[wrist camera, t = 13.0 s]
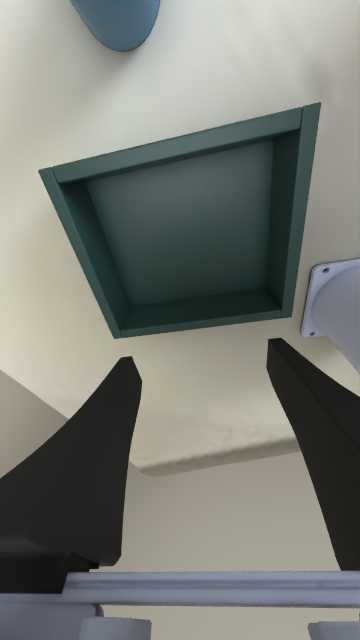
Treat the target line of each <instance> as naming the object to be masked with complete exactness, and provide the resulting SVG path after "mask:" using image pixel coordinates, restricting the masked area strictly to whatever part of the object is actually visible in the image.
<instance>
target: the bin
mask: <svg viewBox="0 0 360 640" xmlns="http://www.w3.org/2000/svg"><path fill="white" fill-rule="evenodd" d="M320 107H321V102H319V103H315V104H311V105H306V106H303V107H299V108H295V109H290V110H286V111H282V112H278V113H274V114H270V115H265V116H261V117H257V118H253V119H249V120H245V121H240V122H236V123H232V124H228V125H224V126H220V127H215V128H211V129H207V130H203V131H199V132H195V133H190V134H186V135H182V136H178V137H174V138H170V139H165V140H161V141H157V142H153V143H149V144H145V145H140V146H136V147H132V148H128V149H124V150H120V151H115V152H111V153H107V154H103V155H99V156H95V157H90V158H86V159H82V160H78V161H74V162H70V163H65V164H61V165H57V166H53V167H49V168H44V169H40V170H38V172H39V174H40V176H41V179H42V181H43V183H44V185H45V187H46V190H47V192H48V194H49V196H50V198H51V201H52V203H53V205H54V207H55V209H56V212H57V214H58V216H59V218H60V220H61V223H62V225H63V227H64V229H65V232H66V234H67V236H68V238H69V240H70V243H71V245H72V247H73V249H74V251H75V254H76V256H77V258H78V260H79V262H80V265H81V267H82V269H83V271H84V273H85V276H86V278H87V280H88V282H89V285H90V287H91V289H92V291H93V293H94V296H95V298H96V300H97V302H98V304H99V307H100V309H101V311H102V313H103V315H104V318H105V320H106V322H107V324H108V326H109V329H110V331H111V333H112V335H113V337H114V339H118V338H127V337H135V336H143V335H151V334H159V333H167V332H175V331H183V330H191V329H199V328H207V327H215V326H223V325H231V324H239V323H247V322H255V321H264V320H272V319H280V318H288V317H292V310H293V303H294V295H295V288H296V281H297V274H298V266H299V259H300V252H301V245H302V238H303V230H304V223H305V216H306V209H307V201H308V194H309V187H310V180H311V172H312V165H313V158H314V151H315V143H316V136H317V129H318V122H319V115H320Z"/></svg>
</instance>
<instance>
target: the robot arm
mask: <svg viewBox="0 0 360 640" xmlns="http://www.w3.org/2000/svg"><path fill="white" fill-rule="evenodd" d="M325 268H327V269H326V271H324V272H323V270H324V269H325ZM311 332H312V333H311ZM301 335H302V336H303V337H304V338H308V337H317V336H326V335H327V337H328V338H329V339H330V340H331V341H332V342H333V344H334V345H335V346H336V347H337V348H338V349H339V351H340V352H341V353H342V354H343V355H344V356H345V357H346V359H347V360H348V361H349V362H350V363H351V364H352V366H353V367H354V368H355V369H356V370H357V371H358V372H359V374H360V259H354V260H347V261H340V262H334V263H327V264H321V265H317V266H315V267H314V268H313V269H312V273H311V278H310V284H309V290H308V295H307V301H306V307H305V312H304V318H303V324H302V329H301ZM266 368H267V371H268V374H269V377H270V380H271V383H272V386H273V388H274V390H275V392H276V394H277V397H278V399H279V401H280V403H281V405H282V407H283V409H284V411H285V413H286V416H287V418H288V420H289V422H290V424H291V426H292V428H293V431H294V433H295V435H296V438H297V440H298V443H299V446H300V449H301V451H302V454H303V456H304V460H305V463H306V465H307V468H308V471H309V474H310V477H311V480H312V483H313V486H314V489H315V492H316V495H317V498H318V501H319V504H320V507H321V510H322V513H323V517H324V520H325V523H326V526H327V530H328V533H329V536H330V539H331V543H332V546H333V549H334V553H335V557H336V559H337V562H338V564H339V567H340V569H341V571H248V572H247V571H241V572H240V571H238V572H237V571H236V572H89V570H90V569H99V566H113V565H115V564H116V562H117V561H118V560H119V558H120V557H121V545H122V527H123V512H124V500H125V487H126V479H127V469H128V461H129V453H130V446H131V441H132V436H133V432H134V427H135V422H136V418H137V413H138V409H139V404H140V399H141V389H142V380H141V377H140V375H139V372H138V370H137V368H136V365H135V363H134V361H133V358H132V356H129V357H121V358H120V359H119V361H118V362H117V363H116V365H115V366H114V367H113V369H112V370H111V371H110V372H109V374H108V375H107V376H106V378H105V379H104V380H103V382H102V383H101V384H100V385H99V387H98V388H97V389H96V390H95V392H94V393H93V394H92V395H91V396H90V397H89V399H88V400H87V401H86V402H85V403H84V404H83V406H82V407H81V408H80V409H79V410H78V411H77V412H76V413H75V414H74V415H73V416H72V417H71V418H70V419H69V420H68V421H67V422H66V424H65V425H64V426H62V427H61V428H60V429H59V430H58V431H57V432H56V433H55V434H54V435H53V436H52V437H50V439H48V440H47V441H46V442H45V443H44V444H43V445H42V446H41V447H39V448H38V449H37V450H36V451H35V452H33V453H32V454H31V455H30V456H29V457H27V458H26V459H25V460H24V461H22V462H21V463H20V464H19V465H17V466H16V467H15V468H14V469H12V470H11V471H10V472H9V473H7V474H6V475H4V476H3V477H2V478H0V640H150V636H151V624H152V623H151V621H150V620H143V619H132V618H116V617H104V614H103V609H102V607H101V606H100V605H135V606H139V605H140V606H214V607H223V606H224V607H295V608H296V607H297V608H360V397H359V396H357V395H356V394H354V393H353V392H351V391H349V390H348V389H346V388H345V387H343V386H342V385H340V384H339V383H337V382H336V381H335V380H333V379H332V378H330V377H329V376H328V375H326V374H325V373H324V372H322V371H321V370H320V369H318V368H317V367H316V366H315V365H313V364H312V363H311V362H310V361H308V360H307V359H306V358H305V357H303V356H302V355H301V354H300V353H299V352H297V351H296V350H295V349H294V348H293V347H292V346H290V345H289V344H288V343H287V342H286V341H285V340H283V339H282V338H275V339H268V353H267V367H266ZM359 617H360V614H359ZM308 630H309V634H310V637H311V640H360V620H359V622H326V621H324V622H323V621H321V622H320V621H319V622H318V623H309V624H308Z"/></svg>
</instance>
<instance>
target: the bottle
mask: <svg viewBox="0 0 360 640" xmlns="http://www.w3.org/2000/svg"><path fill="white" fill-rule="evenodd" d="M70 2H71V3H72V5H73V6H74V8H75V9H76V11H77V12H78V14H79V15H80V17H81V18H82V19H83V21H84V22H85V24H86V25H87V27H88V28H89V30H90V31H91V32H92V34H93V35H94V36H95V37H96V38H97V39H98V40H99V41H100V42H101V43H102V44H104V45H105V46H107V47H109V48H111V49H113V50H117V51H127V50H131V49H134V48H135V47H137V46H139V45H140V44H141V43H142V42H143V41H144V40H145V39H146V37H147V36H148V35H149V33H150V31H151V30H152V27H153V25H154V23H155V20H156V17H157V13H158V9H159V4H160V0H70Z"/></svg>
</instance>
